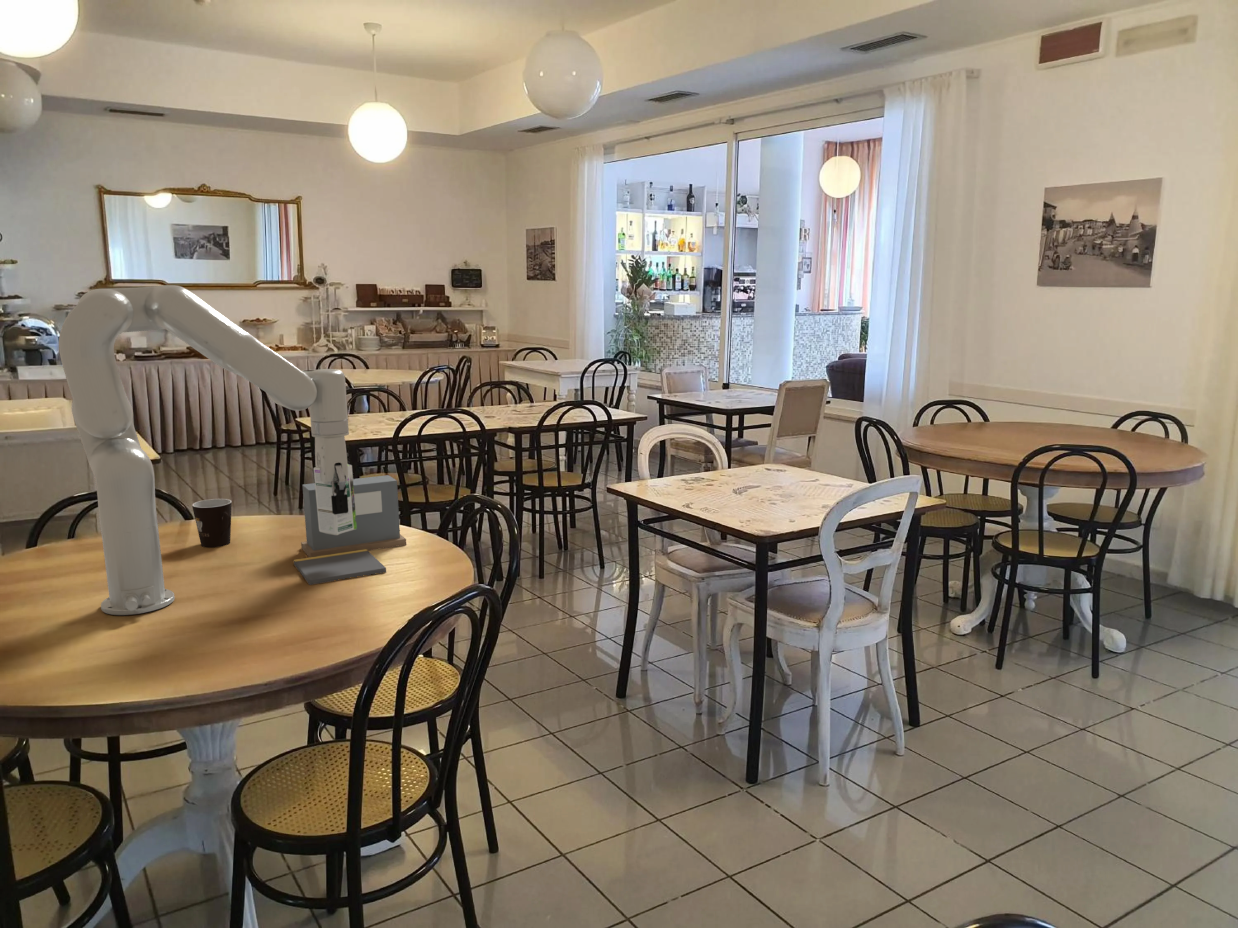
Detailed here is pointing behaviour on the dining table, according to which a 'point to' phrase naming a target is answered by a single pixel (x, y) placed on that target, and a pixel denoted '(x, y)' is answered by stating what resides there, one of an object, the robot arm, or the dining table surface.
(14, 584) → the dining table surface
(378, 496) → the box
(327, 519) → the syrup box
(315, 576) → the mat
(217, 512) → the coffee mug
